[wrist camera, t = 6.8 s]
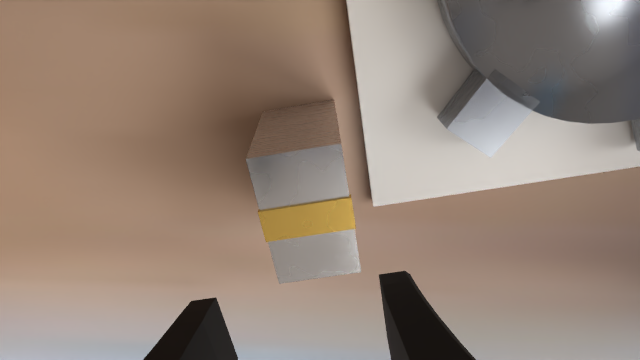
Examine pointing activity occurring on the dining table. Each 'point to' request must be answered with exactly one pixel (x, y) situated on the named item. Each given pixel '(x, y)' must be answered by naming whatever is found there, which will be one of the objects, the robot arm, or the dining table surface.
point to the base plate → (430, 99)
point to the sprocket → (542, 65)
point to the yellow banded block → (303, 192)
